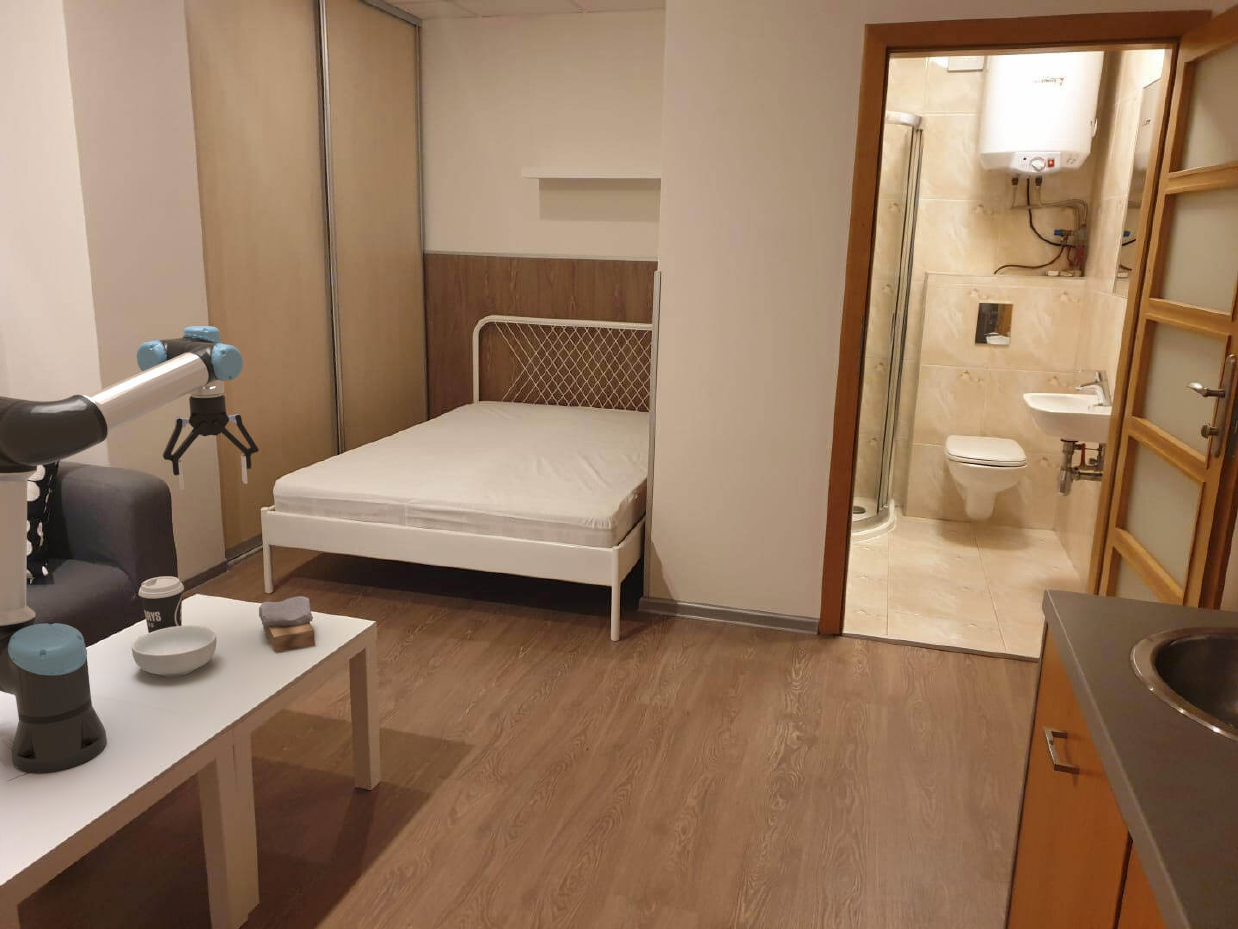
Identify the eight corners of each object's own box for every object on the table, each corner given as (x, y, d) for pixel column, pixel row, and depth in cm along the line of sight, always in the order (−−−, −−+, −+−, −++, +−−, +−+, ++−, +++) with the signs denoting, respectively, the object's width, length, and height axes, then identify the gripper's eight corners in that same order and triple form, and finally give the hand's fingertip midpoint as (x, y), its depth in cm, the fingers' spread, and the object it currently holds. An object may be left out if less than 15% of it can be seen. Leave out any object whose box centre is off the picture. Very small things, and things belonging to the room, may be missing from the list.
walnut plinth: (274, 653, 220) (273, 636, 219) (263, 628, 234) (262, 612, 233) (315, 645, 224) (314, 630, 223) (301, 621, 238) (300, 606, 237)
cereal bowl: (233, 656, 218) (230, 627, 216) (191, 689, 202) (188, 658, 200) (164, 650, 220) (161, 621, 219) (117, 682, 204) (114, 651, 203)
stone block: (315, 629, 228) (309, 607, 236) (314, 612, 226) (308, 590, 234) (262, 638, 223) (258, 615, 231) (260, 621, 221) (256, 598, 229)
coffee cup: (156, 633, 229) (151, 574, 226) (195, 635, 229) (190, 575, 225) (135, 650, 220) (129, 588, 216) (176, 651, 219) (170, 590, 216)
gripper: (147, 400, 208) (155, 495, 213) (267, 394, 220) (273, 483, 225) (144, 395, 214) (153, 487, 219) (261, 389, 226) (267, 476, 231)
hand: (214, 485), depth 222 cm, fingers open, 13 cm apart
